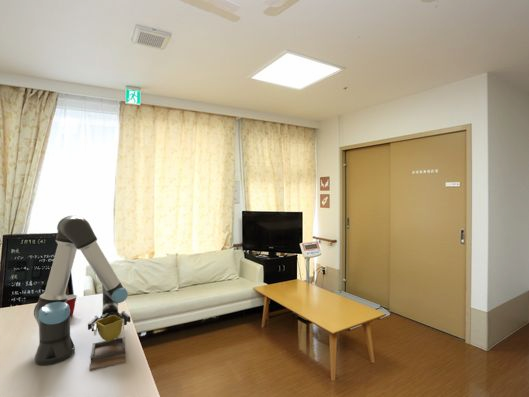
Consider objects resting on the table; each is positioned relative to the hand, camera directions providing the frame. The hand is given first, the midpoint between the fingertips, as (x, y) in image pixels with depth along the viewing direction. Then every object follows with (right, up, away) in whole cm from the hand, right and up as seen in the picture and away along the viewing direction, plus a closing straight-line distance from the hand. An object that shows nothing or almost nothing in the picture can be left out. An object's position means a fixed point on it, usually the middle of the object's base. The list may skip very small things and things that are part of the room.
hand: (109, 329), depth 138 cm
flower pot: (-2, -6, +4) cm, 7 cm away
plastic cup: (-48, -11, +43) cm, 65 cm away
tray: (-1, -12, +1) cm, 12 cm away
